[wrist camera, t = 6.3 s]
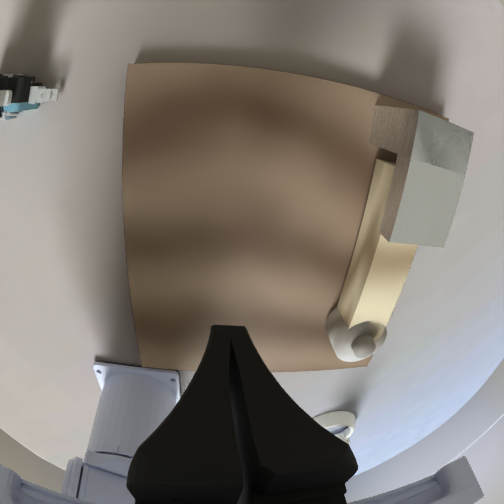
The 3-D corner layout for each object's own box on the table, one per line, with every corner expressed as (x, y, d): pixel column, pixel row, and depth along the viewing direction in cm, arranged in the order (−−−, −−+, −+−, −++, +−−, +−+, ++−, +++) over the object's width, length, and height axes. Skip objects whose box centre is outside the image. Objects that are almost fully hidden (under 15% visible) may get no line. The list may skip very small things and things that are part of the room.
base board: (363, 358, 26) (367, 366, 26) (143, 358, 24) (141, 366, 23) (440, 117, 17) (448, 118, 16) (133, 65, 14) (128, 63, 13)
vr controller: (262, 460, 25) (327, 479, 21) (309, 390, 35) (363, 400, 31) (268, 491, 27) (324, 508, 23) (310, 427, 37) (357, 437, 33)
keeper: (404, 217, 19) (443, 247, 15) (354, 210, 18) (389, 242, 14) (425, 121, 16) (473, 133, 12) (374, 105, 15) (419, 110, 11)
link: (363, 338, 23) (378, 366, 20) (319, 340, 23) (331, 371, 20) (420, 169, 17) (451, 183, 14) (369, 157, 16) (397, 169, 13)
